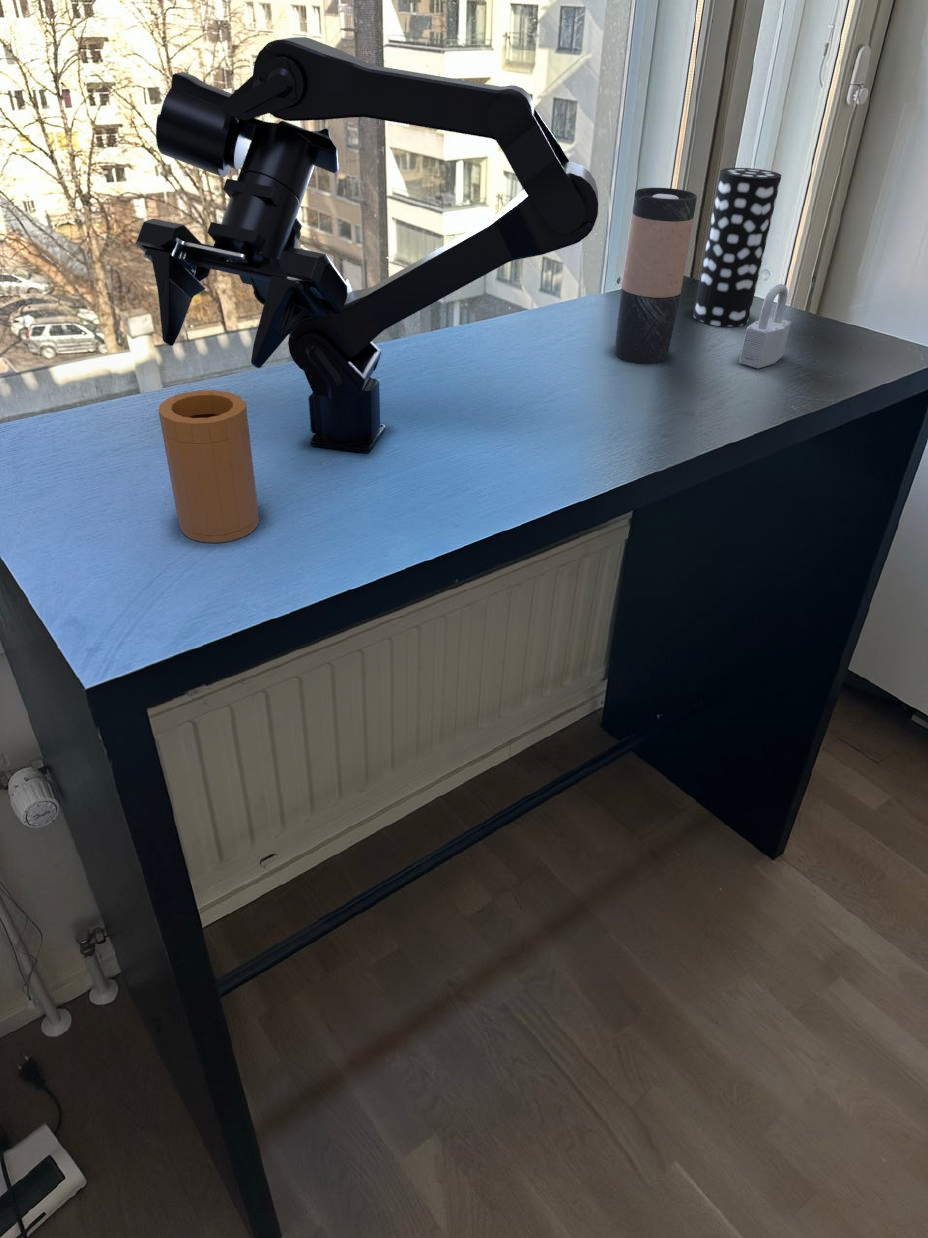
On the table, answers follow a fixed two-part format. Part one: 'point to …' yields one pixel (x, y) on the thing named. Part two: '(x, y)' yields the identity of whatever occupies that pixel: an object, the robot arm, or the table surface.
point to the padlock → (767, 332)
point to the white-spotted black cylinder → (735, 245)
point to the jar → (210, 464)
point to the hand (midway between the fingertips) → (210, 354)
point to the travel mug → (653, 273)
